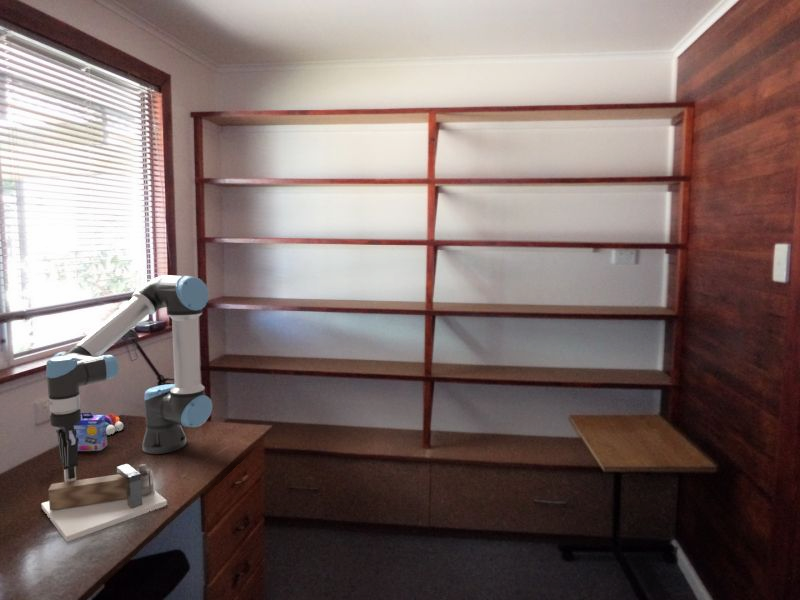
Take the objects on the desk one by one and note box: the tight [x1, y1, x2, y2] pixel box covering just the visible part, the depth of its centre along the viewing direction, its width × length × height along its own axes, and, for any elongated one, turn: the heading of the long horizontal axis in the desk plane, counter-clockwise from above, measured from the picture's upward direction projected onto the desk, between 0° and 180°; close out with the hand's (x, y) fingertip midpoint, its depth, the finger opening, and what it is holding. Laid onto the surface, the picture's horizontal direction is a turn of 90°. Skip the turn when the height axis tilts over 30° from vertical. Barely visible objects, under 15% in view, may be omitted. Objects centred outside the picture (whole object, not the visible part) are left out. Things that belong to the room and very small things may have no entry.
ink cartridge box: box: [74, 411, 108, 452], centre depth 199 cm, size 10×6×14 cm, turn 95°
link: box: [47, 463, 155, 510], centre depth 157 cm, size 27×5×8 cm, turn 111°
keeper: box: [116, 463, 142, 509], centre depth 157 cm, size 3×10×11 cm, turn 46°
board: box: [40, 489, 168, 543], centre depth 157 cm, size 26×25×2 cm
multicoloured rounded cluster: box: [105, 413, 124, 436], centre depth 216 cm, size 8×10×7 cm
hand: (71, 487), depth 157 cm, fingers closed
